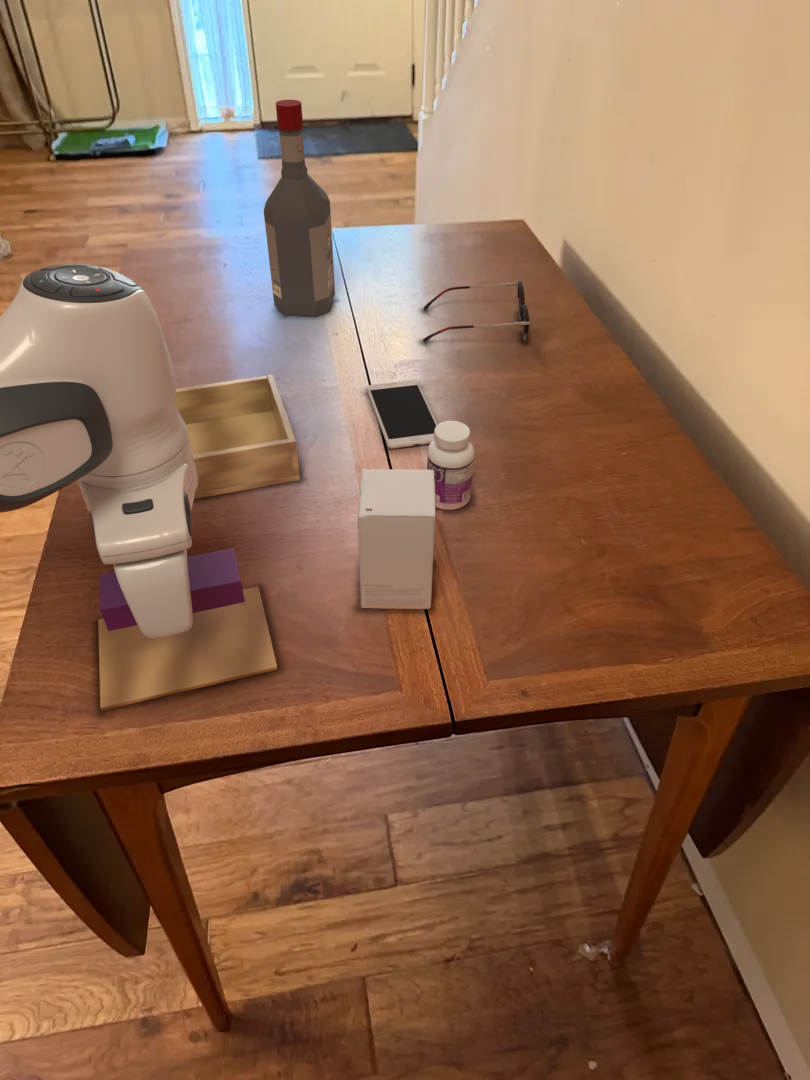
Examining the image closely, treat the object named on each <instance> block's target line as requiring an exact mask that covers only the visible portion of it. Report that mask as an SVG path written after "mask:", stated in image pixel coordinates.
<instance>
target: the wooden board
mask: <svg viewBox="0 0 810 1080" xmlns="http://www.w3.org/2000/svg"><path fill="white" fill-rule="evenodd" d="M242 589H243V594H244V599H245V602H243V603H239V604H234V605H229V606H225V607H220V608H215V609H210V610H206V611H201V612H196V613H193V624H192V628H191V629H190V630H189V631H187V632H184V633H180V634H177V635H173V636H169V637H163V638H156V639H151V638H148V637H146V636H145V635H144V634H143V633H142V632H141V630H140V628H139V626H138V625H135V626H131V627H126V628H121V629H117V630H112V631H108V629H107V626H106V624H105V621H104V619H103V617H102V618H98V619H97V628H98V631H97V632H98V667H99V668H98V669H99V673H98V674H99V707H100V710H101V711H106V710H111V709H114V708H115V709H116V708H119V707H124V706H128V705H133V704H137V703H140V702H145V701H149V700H153V699H158V698H162V697H167V696H172V695H175V694H179V693H183V692H188V691H192V690H196V689H200V688H204V687H205V688H206V687H209V686H214V685H218V684H221V683H226V682H230V681H231V682H232V681H235V680H239V679H243V678H248V677H252V676H256V675H261V674H265V673H270V672H273V671H277V670H278V669H279V668H278V664H277V659H276V656H275V651H274V646H273V643H272V642H273V641H272V638H271V635H270V630H269V629H270V628H269V625H268V621H267V617H266V613H265V609H264V605H263V604H264V603H263V600H262V596H261V592H260V587H259V585H258V586H251V587H247V588H242Z"/></svg>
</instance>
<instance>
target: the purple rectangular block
mask: <svg viewBox="0 0 810 1080" xmlns="http://www.w3.org/2000/svg"><path fill="white" fill-rule="evenodd" d="M187 563H188V574H189V584H190V593H191V602H192V613H196V612H201V611H206V610H210V609H215V608H220V607H225V606H229V605H234V604H239V603H243V602H245V599H244V594H243V589H244V588H243V585H242V580H241V575H240V570H239V566H238V560H237V556H236V550H235V548H234V547H231V548H226V549H222V550H217V551H211V552H206V553H202V554H197V555H191V556H187ZM98 582H99V611H100V614H101V616H102V618H103V619H104V621H105V624H106V626H107V629H108V631H112V630H117V629H121V628H126V627H131V626H135V625H138V624H137V622H136V620H135V618H134V616H133V614H132V612H131V610H130V608H129V605H128V603H127V601H126V599H125V597H124V594H123V592H122V590H121V587H120V585H119V582H118V579H117V576H116V573H115V571H110V572H106V573H101V574H99V581H98Z"/></svg>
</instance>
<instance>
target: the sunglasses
mask: <svg viewBox="0 0 810 1080" xmlns="http://www.w3.org/2000/svg"><path fill="white" fill-rule="evenodd" d="M514 286H515V287H516V286H517V296H516V297H517V299H518V316H519V320H520V321H514V322H506V323H490V324H475V325H473V324H469V325H455V326H447V327H445V328H442V329H440V330H438V331H436V332H433V333H431V334H429V335H426V336H425V337H424V338H422V342H423V343H427V342H428V341H430V340H431V339H432V338H433V337H436V336H437V335H440V334H442V333H444V332H446V331H450V330H463V329H464V330H465V329H476V328H491V327H492V328H493V327H505V326H522V337H523V341H524V342H526V341H527V335H529V332H530V331H529V330H530V324H531V322H530V314H529V309H528V306H527V304H526V299H525V289H524V285H523V282H522V281H521V280H518V281H517V282H516V281H515V282H507V283H506V282H505V283H497V284H496V283H493V284H480V285H479V284H478V285H461V286H453V287H449V288H446V289H444V290H442V291H441V292H440V293H438V294H437V295H436V296H435V297H433V298H432V299H431V300H430V301H428V302H427V303H426V304H425V305H424V306H423V307H422V309H423V310H424V311H425V312H426V311H427V310H428V309H429V308H430V307H431V305H432V304H433V303H434V302H435V301H437V300H438V299H439V298H440V297H442V296H443V295H444V294H446V293H448V292H450V291H455V290H466V289H479V288H493V287H494V288H495V287H514Z"/></svg>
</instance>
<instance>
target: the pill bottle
mask: <svg viewBox="0 0 810 1080" xmlns="http://www.w3.org/2000/svg"><path fill="white" fill-rule="evenodd" d="M437 424H438V425H437V426H436V427H435V431H434V440H433V441H432V442H431V443H430V444H428V448H427V456H426V470H434V479H435V499H436V509H437V508H438V509H441V510H445V511H453V510H458V509H460V508H463V507H465V506H466V505H467V504H468V503H469V501H470V499H471V494H472V486H473V485H472V484H473V475H474V465H475V464H474V463H475V449H474V446H473V444H472V443H471V430H470V427H469V426H468V425H467V424H465V423H463V422H461V421H458V420H444V421H442V422H440V423H437Z"/></svg>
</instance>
